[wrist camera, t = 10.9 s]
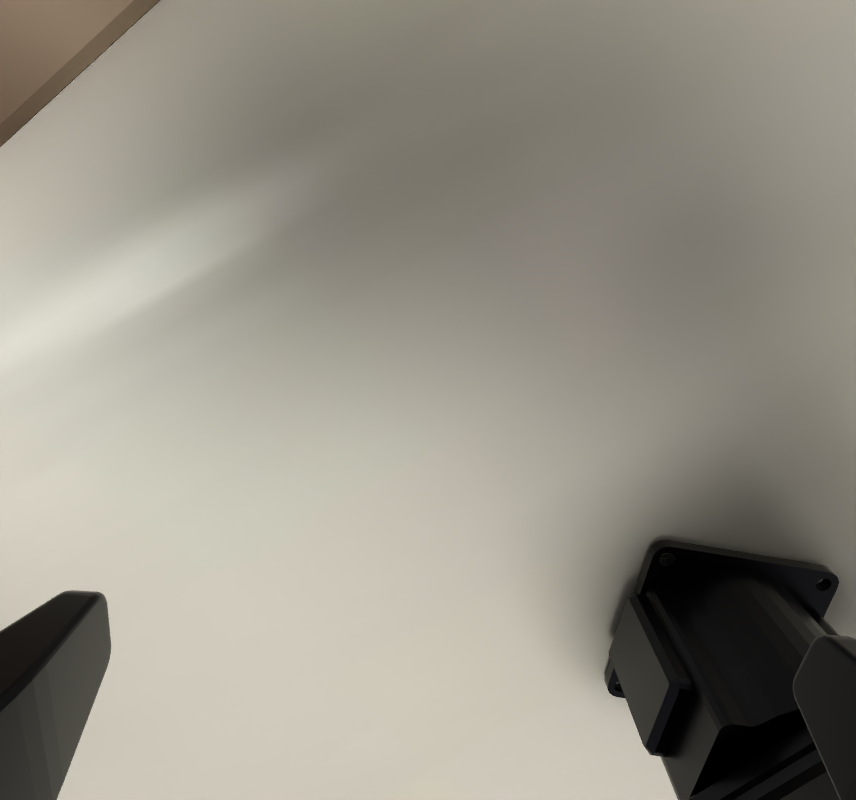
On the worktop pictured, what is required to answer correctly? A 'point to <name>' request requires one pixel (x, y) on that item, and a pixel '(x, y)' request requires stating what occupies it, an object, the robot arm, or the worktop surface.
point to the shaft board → (53, 48)
